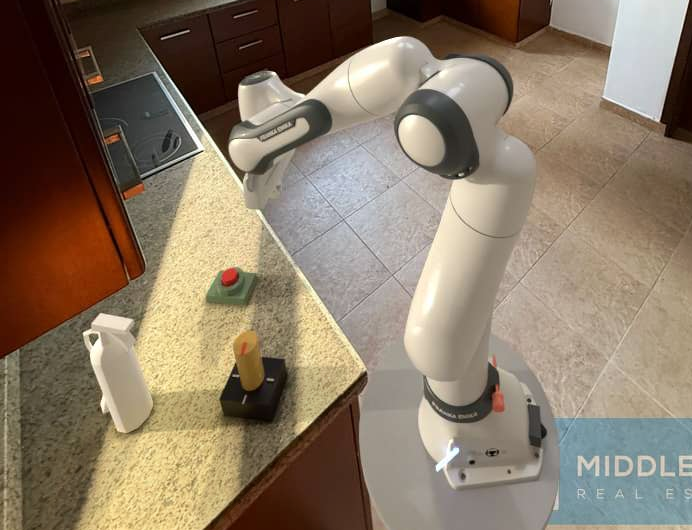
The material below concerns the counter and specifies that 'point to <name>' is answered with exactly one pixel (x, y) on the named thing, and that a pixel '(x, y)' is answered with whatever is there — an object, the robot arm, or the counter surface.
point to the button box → (232, 289)
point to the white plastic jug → (119, 372)
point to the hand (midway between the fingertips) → (276, 194)
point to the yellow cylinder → (248, 360)
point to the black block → (255, 393)
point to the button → (229, 277)
